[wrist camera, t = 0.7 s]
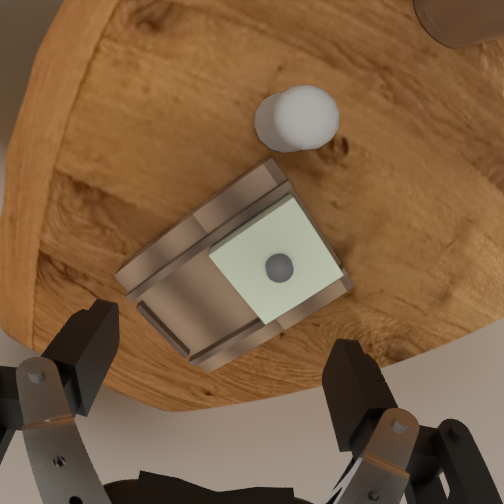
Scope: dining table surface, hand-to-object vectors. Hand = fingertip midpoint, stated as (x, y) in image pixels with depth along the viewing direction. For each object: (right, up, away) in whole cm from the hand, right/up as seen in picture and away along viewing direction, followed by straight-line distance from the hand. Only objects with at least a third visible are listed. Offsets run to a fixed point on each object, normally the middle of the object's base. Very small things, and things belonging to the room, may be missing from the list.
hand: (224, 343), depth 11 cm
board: (-1, +1, +24) cm, 24 cm away
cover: (+3, +3, +20) cm, 21 cm away
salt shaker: (+4, +16, +19) cm, 25 cm away
